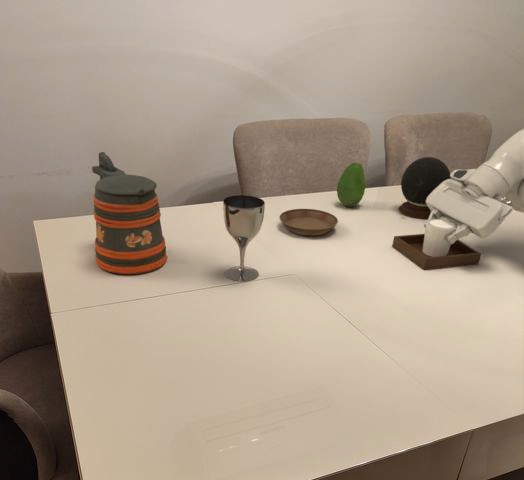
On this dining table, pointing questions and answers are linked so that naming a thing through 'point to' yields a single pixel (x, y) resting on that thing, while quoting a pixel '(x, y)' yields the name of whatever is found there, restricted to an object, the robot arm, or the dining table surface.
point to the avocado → (351, 185)
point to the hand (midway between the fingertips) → (436, 234)
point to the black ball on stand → (421, 185)
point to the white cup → (437, 237)
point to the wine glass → (243, 229)
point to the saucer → (308, 221)
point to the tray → (455, 257)
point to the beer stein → (126, 221)
